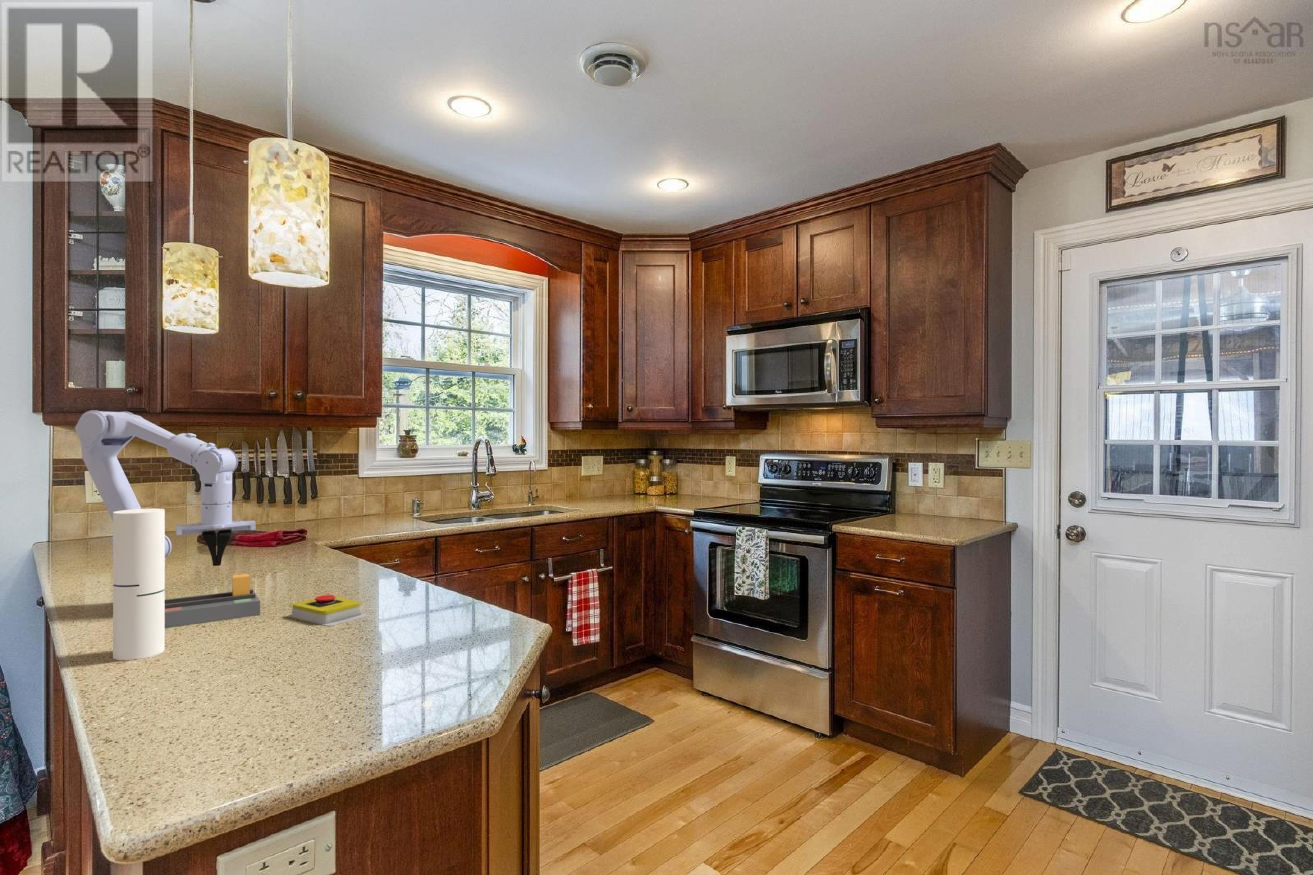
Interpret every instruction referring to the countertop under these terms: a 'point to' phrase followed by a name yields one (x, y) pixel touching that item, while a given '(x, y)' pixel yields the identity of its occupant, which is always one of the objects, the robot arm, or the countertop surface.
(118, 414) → the robot arm
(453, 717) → the countertop surface
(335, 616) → the emergency button
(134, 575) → the cylindrical container
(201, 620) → the switch panel
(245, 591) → the knob
